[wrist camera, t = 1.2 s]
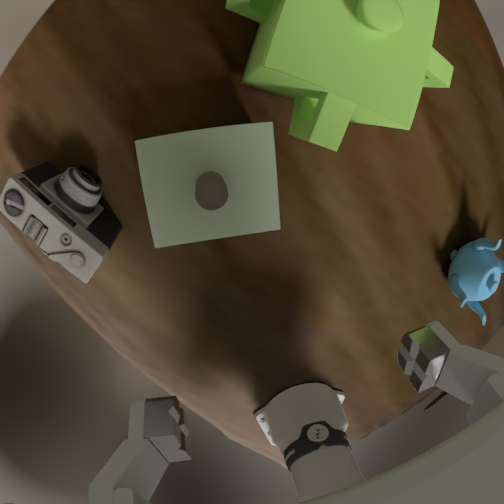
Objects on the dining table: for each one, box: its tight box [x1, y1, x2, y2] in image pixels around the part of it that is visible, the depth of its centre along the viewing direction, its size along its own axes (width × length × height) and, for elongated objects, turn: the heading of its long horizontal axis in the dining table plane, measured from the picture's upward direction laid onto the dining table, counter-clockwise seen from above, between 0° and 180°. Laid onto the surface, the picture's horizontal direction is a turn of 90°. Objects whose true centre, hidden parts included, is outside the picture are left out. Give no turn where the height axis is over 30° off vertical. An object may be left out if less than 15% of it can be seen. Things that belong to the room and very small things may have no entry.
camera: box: [0, 162, 122, 283], centre depth 30 cm, size 14×8×10 cm, turn 44°
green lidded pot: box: [225, 0, 454, 152], centre depth 24 cm, size 25×23×17 cm
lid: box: [135, 122, 280, 248], centre depth 28 cm, size 11×13×4 cm
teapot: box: [447, 238, 504, 325], centre depth 45 cm, size 13×13×10 cm
